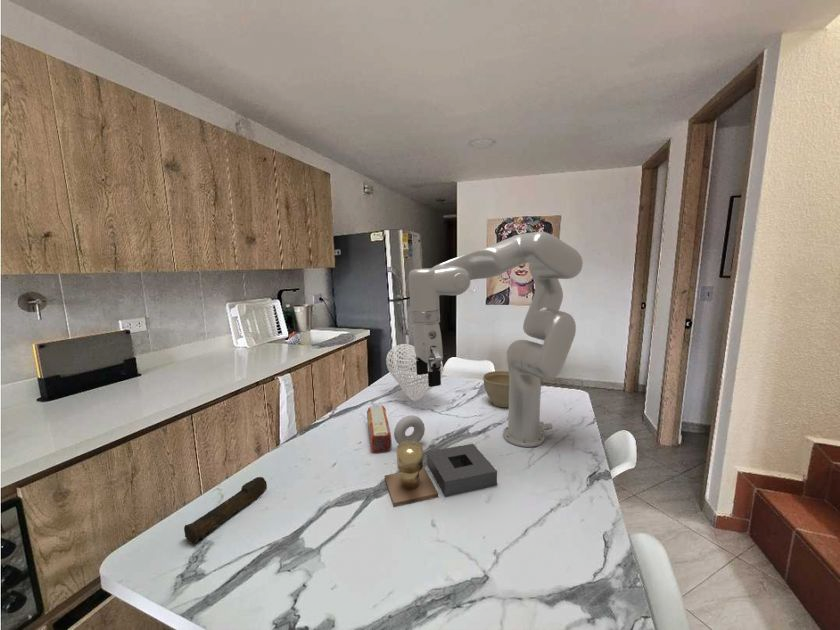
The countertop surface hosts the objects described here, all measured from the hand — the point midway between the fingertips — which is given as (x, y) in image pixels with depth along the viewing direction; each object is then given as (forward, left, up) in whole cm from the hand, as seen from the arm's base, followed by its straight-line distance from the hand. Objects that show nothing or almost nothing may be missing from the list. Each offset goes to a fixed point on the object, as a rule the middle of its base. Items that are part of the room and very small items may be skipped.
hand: (428, 379), depth 92 cm
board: (+7, +7, -25) cm, 27 cm away
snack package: (+10, -21, -26) cm, 35 cm away
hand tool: (+49, +3, -26) cm, 55 cm away
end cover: (+7, +7, -24) cm, 26 cm away
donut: (+2, -12, -25) cm, 28 cm away
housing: (-7, +6, -25) cm, 27 cm away
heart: (-9, -46, -25) cm, 53 cm away
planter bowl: (-42, -32, -25) cm, 58 cm away
